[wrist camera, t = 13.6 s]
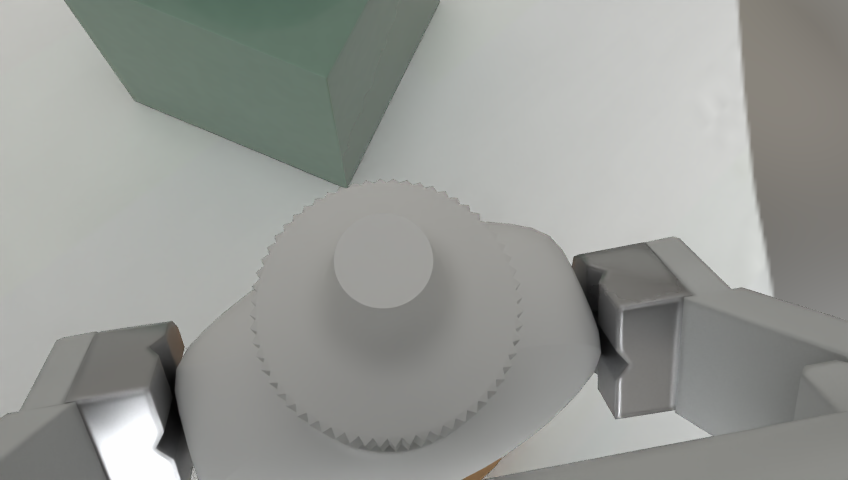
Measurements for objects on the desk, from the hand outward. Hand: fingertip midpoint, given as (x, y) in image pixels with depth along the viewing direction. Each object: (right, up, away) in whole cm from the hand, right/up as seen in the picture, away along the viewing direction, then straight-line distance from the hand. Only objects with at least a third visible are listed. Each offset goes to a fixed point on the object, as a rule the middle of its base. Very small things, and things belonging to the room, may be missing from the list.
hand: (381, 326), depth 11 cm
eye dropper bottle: (0, -3, +6) cm, 7 cm away
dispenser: (-5, +10, +22) cm, 25 cm away
